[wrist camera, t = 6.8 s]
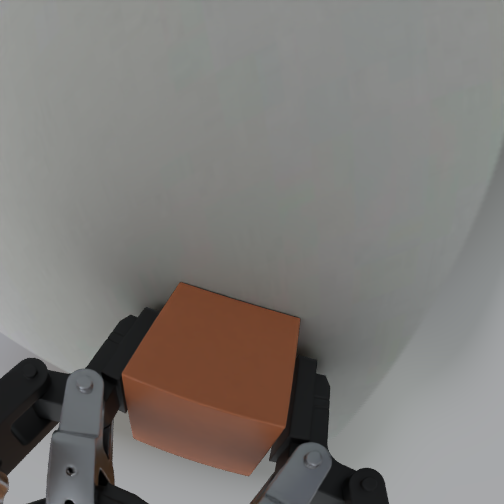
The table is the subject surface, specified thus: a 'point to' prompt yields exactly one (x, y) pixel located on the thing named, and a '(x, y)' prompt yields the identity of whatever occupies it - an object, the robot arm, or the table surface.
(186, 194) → the table surface
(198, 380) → the block
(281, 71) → the table surface
